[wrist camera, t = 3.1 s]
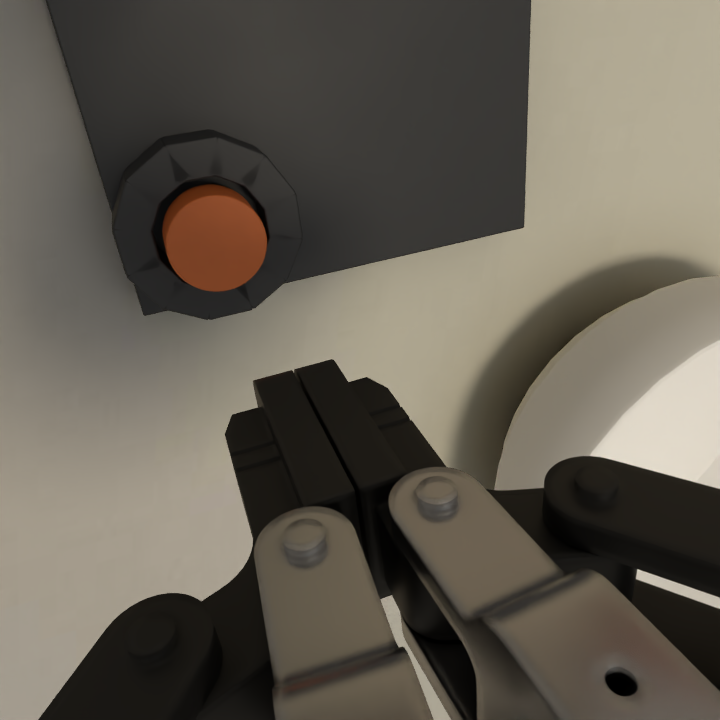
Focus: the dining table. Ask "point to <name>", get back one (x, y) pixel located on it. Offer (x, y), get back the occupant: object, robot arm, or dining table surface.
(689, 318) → the bowl
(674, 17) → the dining table surface
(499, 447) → the dining table surface
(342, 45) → the scale
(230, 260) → the button
